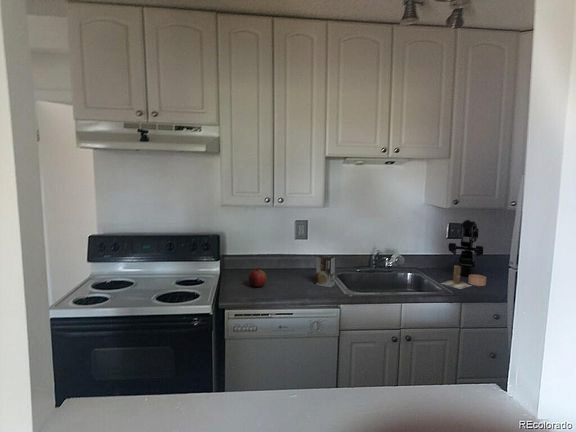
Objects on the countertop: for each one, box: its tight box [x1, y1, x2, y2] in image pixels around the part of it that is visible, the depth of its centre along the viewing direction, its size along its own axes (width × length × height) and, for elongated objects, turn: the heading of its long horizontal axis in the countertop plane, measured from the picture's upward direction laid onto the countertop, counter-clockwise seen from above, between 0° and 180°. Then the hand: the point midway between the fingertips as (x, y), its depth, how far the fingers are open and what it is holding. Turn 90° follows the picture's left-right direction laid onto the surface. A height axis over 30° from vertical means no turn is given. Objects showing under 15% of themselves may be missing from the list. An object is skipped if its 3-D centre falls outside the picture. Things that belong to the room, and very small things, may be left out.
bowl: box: [467, 273, 487, 287], centre depth 223 cm, size 9×9×4 cm
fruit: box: [248, 267, 267, 288], centre depth 209 cm, size 11×10×10 cm
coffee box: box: [315, 254, 336, 288], centre depth 214 cm, size 9×6×16 cm
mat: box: [440, 282, 472, 290], centre depth 220 cm, size 12×12×1 cm
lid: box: [444, 265, 468, 289], centre depth 220 cm, size 12×12×11 cm
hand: (463, 260), depth 223 cm, fingers open, 9 cm apart
